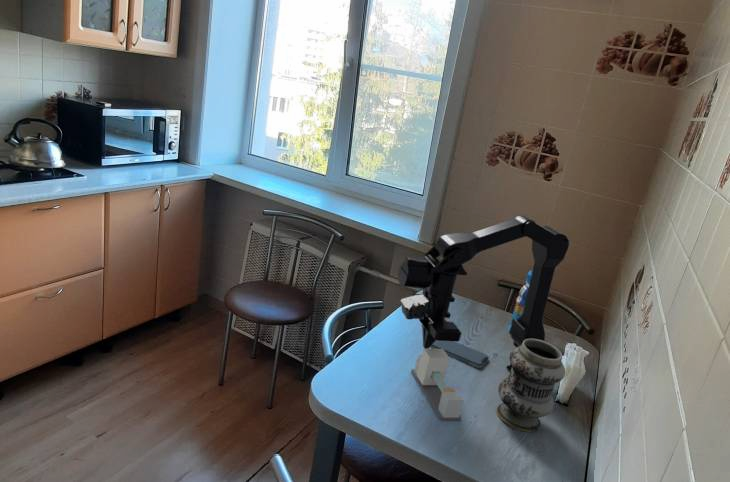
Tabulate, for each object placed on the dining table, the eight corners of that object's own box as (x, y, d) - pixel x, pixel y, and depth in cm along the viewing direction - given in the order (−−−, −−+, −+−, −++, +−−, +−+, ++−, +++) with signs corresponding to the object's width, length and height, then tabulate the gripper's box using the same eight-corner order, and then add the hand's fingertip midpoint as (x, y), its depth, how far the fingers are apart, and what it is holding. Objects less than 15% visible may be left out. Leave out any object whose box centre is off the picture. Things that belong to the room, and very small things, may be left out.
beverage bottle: (515, 325, 165) (533, 267, 159) (539, 337, 160) (559, 278, 154) (502, 331, 159) (520, 271, 153) (526, 344, 154) (546, 282, 148)
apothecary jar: (523, 441, 109) (549, 367, 103) (480, 407, 118) (502, 337, 112) (556, 427, 116) (582, 357, 111) (514, 396, 125) (535, 330, 120)
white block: (435, 375, 125) (442, 348, 123) (442, 385, 121) (449, 358, 119) (416, 375, 123) (423, 348, 121) (422, 385, 120) (429, 357, 118)
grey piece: (429, 372, 128) (434, 353, 126) (460, 420, 112) (466, 399, 110) (411, 372, 126) (415, 353, 125) (439, 420, 110) (445, 399, 109)
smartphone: (439, 334, 147) (490, 355, 140) (438, 340, 148) (488, 360, 141) (428, 343, 141) (480, 365, 134) (427, 348, 141) (479, 371, 134)
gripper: (396, 270, 127) (383, 327, 132) (423, 305, 110) (407, 368, 115) (437, 274, 131) (423, 329, 135) (469, 308, 114) (452, 369, 118)
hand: (425, 347), depth 126 cm, fingers closed
